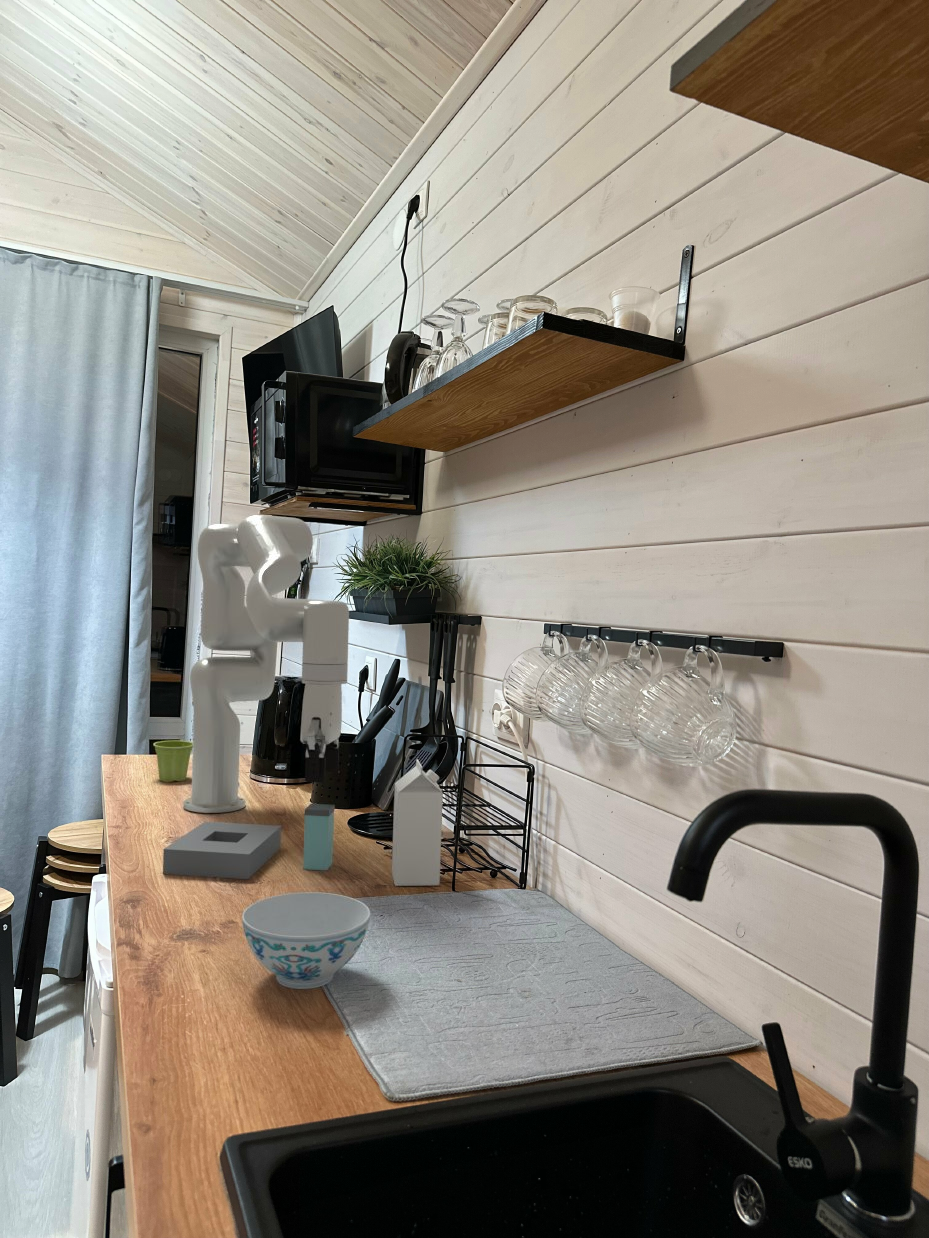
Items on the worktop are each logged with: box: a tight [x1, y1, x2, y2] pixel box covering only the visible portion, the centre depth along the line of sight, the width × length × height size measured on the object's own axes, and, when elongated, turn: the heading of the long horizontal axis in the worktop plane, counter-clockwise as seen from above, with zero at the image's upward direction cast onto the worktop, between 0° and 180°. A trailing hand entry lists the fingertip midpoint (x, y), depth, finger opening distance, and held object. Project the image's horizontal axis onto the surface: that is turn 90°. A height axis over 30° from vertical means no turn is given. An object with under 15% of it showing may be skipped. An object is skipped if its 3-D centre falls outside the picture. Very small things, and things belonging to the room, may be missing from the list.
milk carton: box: [391, 759, 444, 887], centre depth 144 cm, size 7×7×19 cm
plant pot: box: [153, 740, 193, 783], centre depth 214 cm, size 9×9×9 cm
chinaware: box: [241, 891, 371, 990], centre depth 106 cm, size 15×15×8 cm
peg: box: [302, 803, 336, 871], centre depth 150 cm, size 4×4×10 cm
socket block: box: [162, 821, 282, 880], centre depth 151 cm, size 18×14×4 cm
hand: (322, 776), depth 149 cm, fingers open, 9 cm apart
